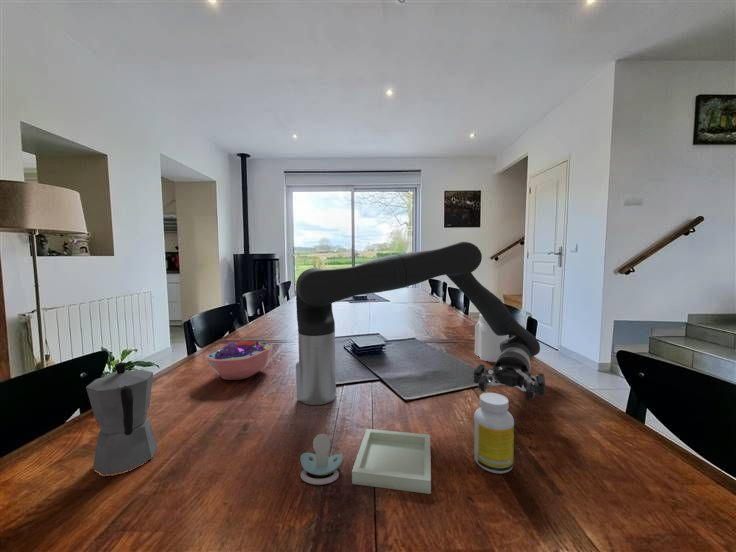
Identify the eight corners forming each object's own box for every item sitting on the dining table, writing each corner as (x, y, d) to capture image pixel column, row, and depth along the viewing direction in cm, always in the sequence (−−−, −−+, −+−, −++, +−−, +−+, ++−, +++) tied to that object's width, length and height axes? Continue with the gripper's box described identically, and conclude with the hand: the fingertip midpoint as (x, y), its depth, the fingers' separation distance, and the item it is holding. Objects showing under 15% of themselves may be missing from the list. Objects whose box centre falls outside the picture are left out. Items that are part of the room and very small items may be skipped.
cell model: (286, 370, 99) (285, 335, 99) (229, 395, 83) (227, 353, 82) (252, 361, 108) (250, 329, 108) (194, 381, 92) (192, 343, 91)
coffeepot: (90, 454, 58) (83, 360, 57) (151, 434, 65) (146, 349, 63) (94, 501, 47) (86, 385, 46) (167, 471, 53) (161, 368, 52)
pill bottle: (517, 478, 51) (519, 409, 50) (476, 472, 52) (477, 405, 51) (508, 453, 57) (509, 391, 56) (471, 449, 59) (472, 389, 58)
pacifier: (339, 489, 49) (345, 462, 55) (338, 452, 49) (344, 429, 55) (293, 486, 50) (304, 460, 56) (292, 449, 49) (303, 427, 55)
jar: (512, 362, 105) (513, 318, 104) (483, 362, 105) (484, 318, 104) (497, 351, 116) (498, 311, 115) (472, 352, 116) (472, 312, 115)
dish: (352, 483, 50) (351, 471, 50) (366, 438, 62) (366, 428, 62) (430, 494, 48) (430, 480, 48) (430, 445, 60) (430, 434, 60)
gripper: (483, 347, 81) (468, 367, 67) (546, 355, 74) (544, 380, 60) (483, 375, 81) (468, 401, 67) (545, 386, 74) (544, 417, 60)
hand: (504, 391), depth 64 cm, fingers open, 8 cm apart
